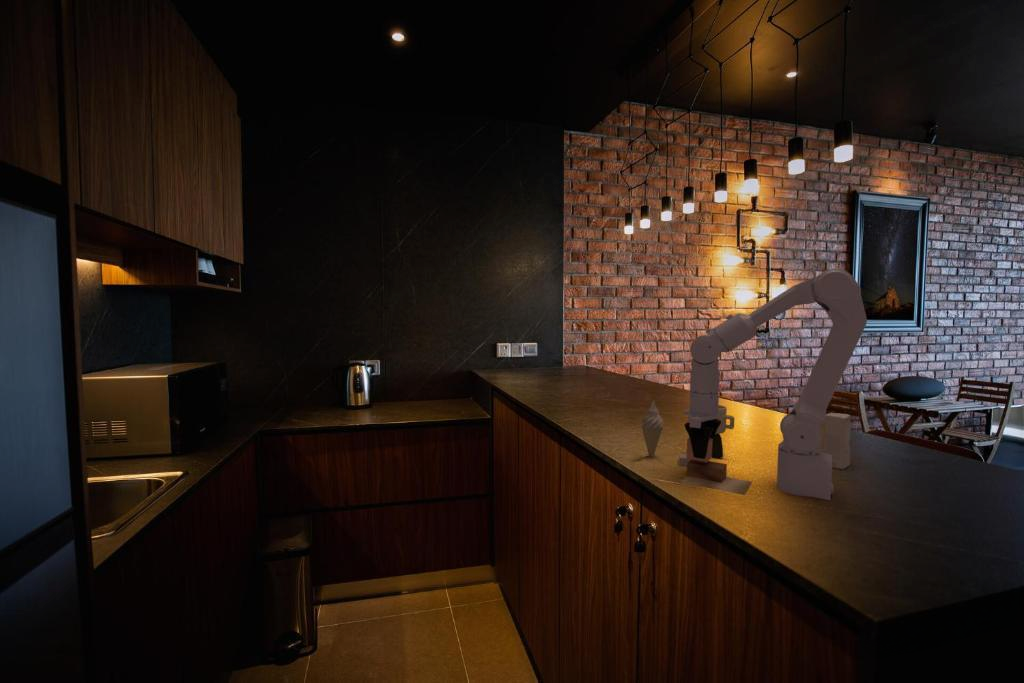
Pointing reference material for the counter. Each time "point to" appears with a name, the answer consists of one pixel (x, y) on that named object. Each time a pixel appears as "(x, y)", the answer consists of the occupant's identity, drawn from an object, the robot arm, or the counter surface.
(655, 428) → the ice cream cone
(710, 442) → the terracotta cube
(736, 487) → the birch board
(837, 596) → the counter surface
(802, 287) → the robot arm
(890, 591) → the counter surface
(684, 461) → the grey block
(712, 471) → the walnut bar
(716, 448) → the character mug
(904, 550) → the counter surface
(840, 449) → the skincare box
